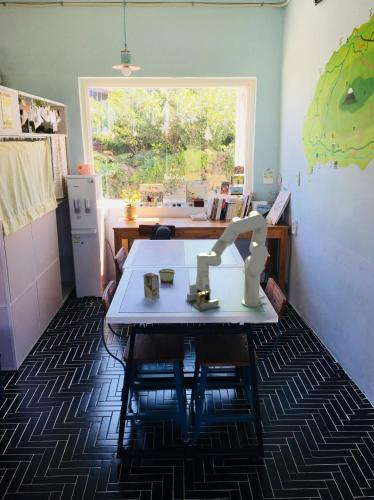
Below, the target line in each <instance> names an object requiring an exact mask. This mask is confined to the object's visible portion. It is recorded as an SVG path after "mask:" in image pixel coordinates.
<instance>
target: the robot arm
mask: <svg viewBox="0 0 374 500" xmlns="http://www.w3.org/2000/svg"><path fill="white" fill-rule="evenodd" d="M229 221H230V222H229V223H228V224H227V226H226V228H225V229H224V231H223V233H221V235H220V237H219V238H218V239H217V241H216V242H215V243H214V244H213V246H212V248H211V249H210V251H209V253H205V252H201V253H200V252H199V253H198V254H196V255H197V256H196V277H195V278H196V279H195V283H196V288H197V293H199V292H205V301H208V300H209V295H210V296H211V292H212V290H211V287H210V286H211V285H210V284H211V283H210V276H209V275H210V266H211V267H219V266H220V265H221V264H222V263H223V262H222V257H221V256H222V254H223V253H224V251H225V250H226V249H227V248H228V247H230V246H232V245H233V244H234V242H235V241H236V240H237V238H238V236H239V235H240V234H241V235H242V234H245V233H248V232H251V231H253V232H252V236H251V241H250V242H249V244H250V245H249V252H250V255H248V256H247V257H246V258H245V260H244V264H243V266H244V291H243V293H244V296H243V299H242V300H241V304H242V305H243V306H245V307H249V308H257V307H259V306H261V305H262V300H265V299H266V296H265V295H260V287H261V286H260V282H261V273H262V272H263V271H264V268H265V265H266V264H265V263H266V261H267V256H268V248H267V247H266V239H267V236H268V235H267V234H268V223H267V221H266V219H265V217H264V216H263V214H261V213H260V212H259V211H257V210H252V211H250V212H249V213H248V215H247V217H244V218H241V217H239V216H235V217H233V218H232V219H231V220H229ZM206 291H207V293H206Z"/></svg>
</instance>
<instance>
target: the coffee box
mask: <svg viewBox="0 0 374 500" xmlns="http://www.w3.org/2000/svg"><path fill="white" fill-rule="evenodd" d="M142 276H143V277H142V278H143V291H144V298H146V299H149V300H150V301H151V300H152V301H155V300H157V299H160V282H159V279H160V276H159V274H155V273H152V272H149V273H145V274H143V275H142Z"/></svg>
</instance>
